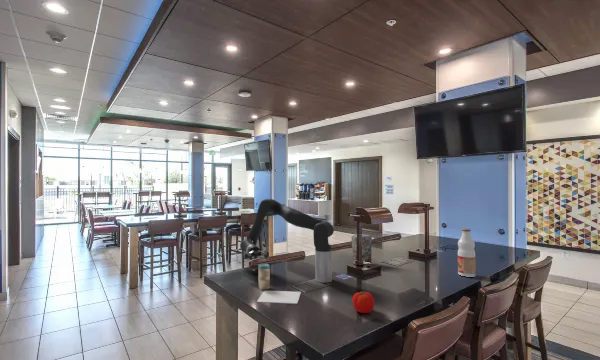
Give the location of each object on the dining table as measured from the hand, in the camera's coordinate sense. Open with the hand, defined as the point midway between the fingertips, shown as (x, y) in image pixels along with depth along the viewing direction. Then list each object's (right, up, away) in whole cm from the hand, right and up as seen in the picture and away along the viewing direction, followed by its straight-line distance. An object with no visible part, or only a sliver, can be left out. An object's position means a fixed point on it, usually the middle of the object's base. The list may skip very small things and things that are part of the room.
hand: (258, 257), depth 174 cm
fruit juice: (+123, -14, +9) cm, 125 cm away
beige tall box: (+4, -14, -11) cm, 18 cm away
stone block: (+66, -15, +38) cm, 78 cm away
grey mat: (+14, -13, -25) cm, 31 cm away
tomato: (+51, -13, -43) cm, 68 cm away
